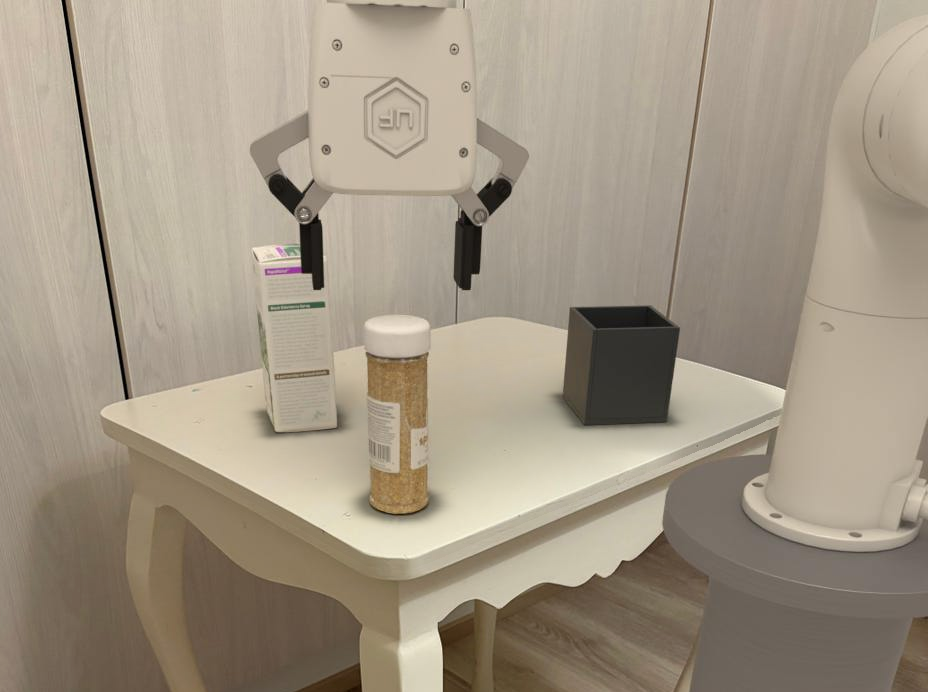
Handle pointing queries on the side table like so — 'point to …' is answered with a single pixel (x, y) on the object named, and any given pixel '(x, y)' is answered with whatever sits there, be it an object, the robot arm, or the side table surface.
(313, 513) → the side table surface
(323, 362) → the syrup box
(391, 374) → the sprinkles bottle
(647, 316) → the dark grey open box
